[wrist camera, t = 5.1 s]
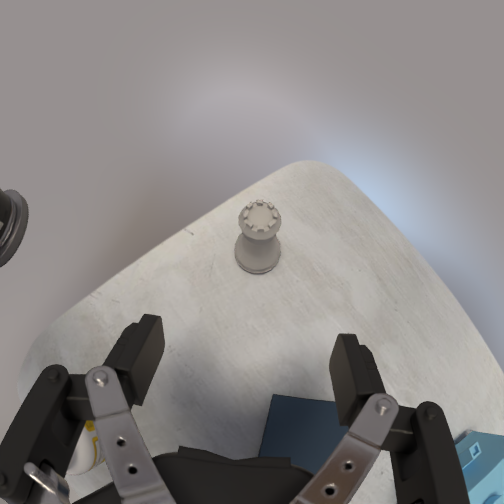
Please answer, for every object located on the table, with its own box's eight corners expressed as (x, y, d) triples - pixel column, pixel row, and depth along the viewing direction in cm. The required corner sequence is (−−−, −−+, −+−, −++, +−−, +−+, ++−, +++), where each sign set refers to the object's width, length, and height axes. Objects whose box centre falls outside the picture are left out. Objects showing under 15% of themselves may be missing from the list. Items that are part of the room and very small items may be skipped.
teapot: (471, 394, 22) (541, 392, 12) (485, 489, 16) (536, 505, 6) (361, 470, 20) (415, 515, 10) (390, 558, 14) (429, 598, 4)
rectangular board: (310, 544, 17) (311, 547, 16) (235, 539, 17) (234, 543, 17) (354, 402, 23) (357, 404, 22) (272, 393, 24) (273, 394, 23)
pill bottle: (71, 403, 22) (0, 411, 12) (116, 390, 23) (48, 400, 13) (94, 456, 20) (31, 485, 10) (141, 447, 21) (86, 485, 11)
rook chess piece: (251, 283, 27) (252, 253, 20) (225, 247, 29) (218, 207, 21) (288, 258, 28) (302, 221, 21) (262, 224, 30) (267, 179, 22)
